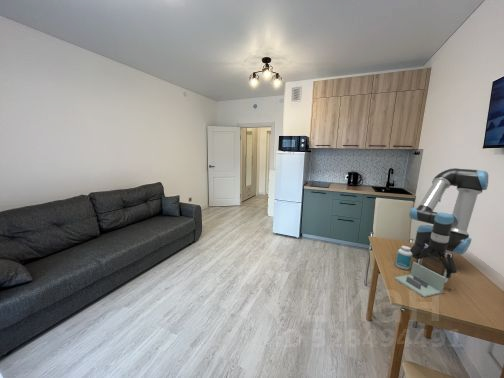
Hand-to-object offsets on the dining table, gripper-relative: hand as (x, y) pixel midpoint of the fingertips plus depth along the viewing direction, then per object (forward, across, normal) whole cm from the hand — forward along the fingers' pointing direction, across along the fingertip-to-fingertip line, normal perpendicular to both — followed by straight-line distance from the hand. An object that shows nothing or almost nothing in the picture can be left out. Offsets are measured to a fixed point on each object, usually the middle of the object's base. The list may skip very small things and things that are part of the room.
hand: (430, 275), depth 121 cm
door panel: (+3, 0, 0) cm, 3 cm away
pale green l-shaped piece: (+3, +2, -13) cm, 14 cm away
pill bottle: (+4, -15, -2) cm, 16 cm away
